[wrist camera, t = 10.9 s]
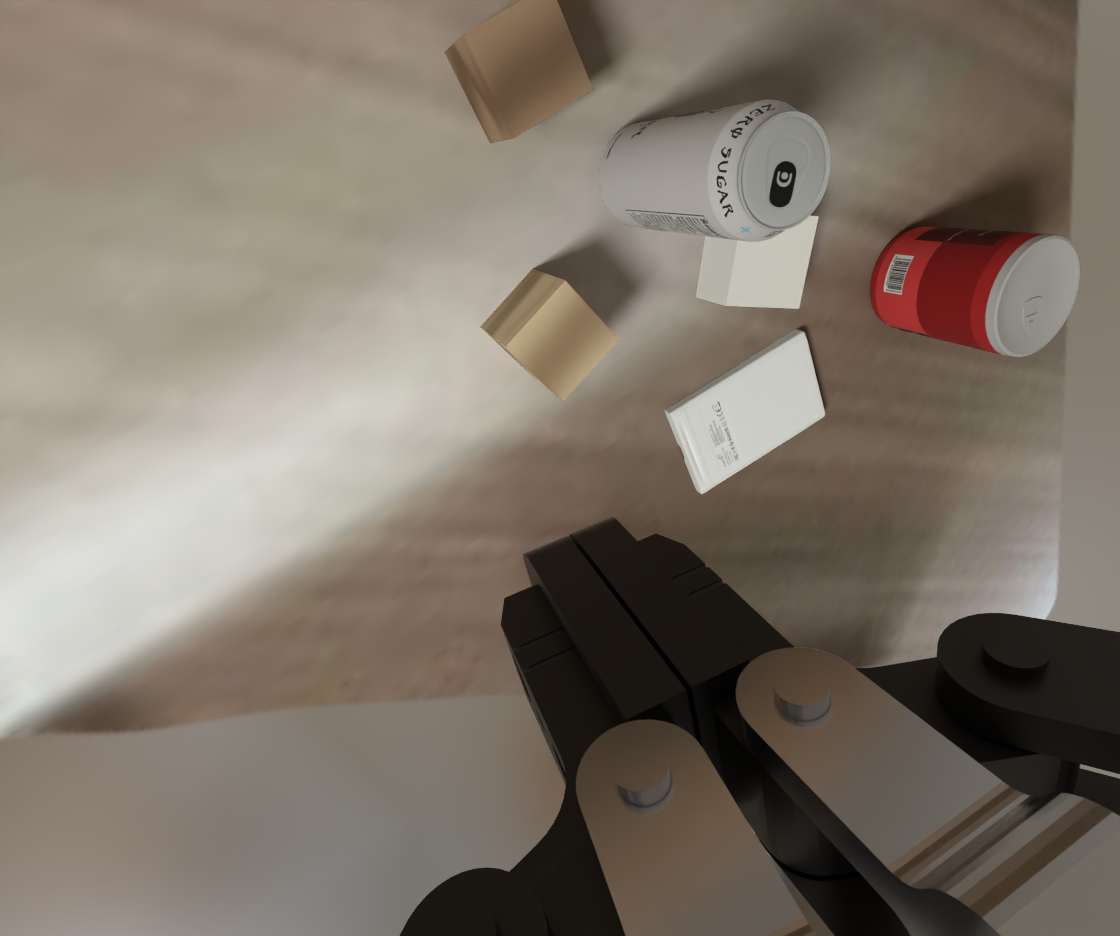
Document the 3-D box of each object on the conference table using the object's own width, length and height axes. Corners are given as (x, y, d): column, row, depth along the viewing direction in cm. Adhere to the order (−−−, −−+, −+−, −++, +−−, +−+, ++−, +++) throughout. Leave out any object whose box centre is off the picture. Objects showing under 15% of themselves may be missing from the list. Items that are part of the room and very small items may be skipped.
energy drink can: (684, 130, 41) (857, 106, 29) (669, 230, 44) (823, 249, 31) (598, 116, 39) (743, 83, 26) (586, 222, 42) (716, 238, 29)
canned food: (879, 345, 54) (1002, 379, 44) (855, 261, 50) (985, 279, 40) (949, 293, 54) (1086, 316, 45) (931, 205, 50) (1078, 210, 41)
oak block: (480, 326, 42) (505, 346, 37) (532, 268, 41) (565, 280, 36) (532, 376, 44) (562, 401, 39) (582, 321, 44) (619, 339, 39)
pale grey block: (708, 207, 44) (743, 208, 41) (780, 214, 46) (818, 216, 43) (694, 296, 46) (726, 305, 43) (763, 299, 49) (798, 308, 45)
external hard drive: (813, 411, 55) (693, 488, 54) (791, 327, 51) (660, 408, 49) (826, 417, 54) (703, 496, 52) (805, 331, 49) (671, 414, 48)
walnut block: (444, 52, 35) (463, 34, 31) (520, 7, 36) (550, -18, 31) (489, 143, 38) (513, 138, 34) (560, 100, 38) (593, 89, 34)
